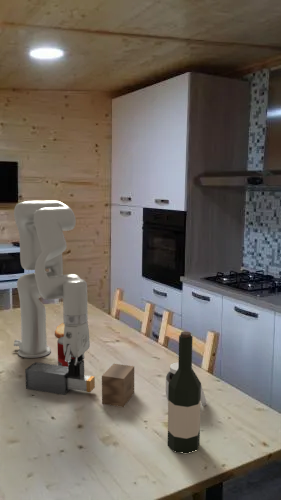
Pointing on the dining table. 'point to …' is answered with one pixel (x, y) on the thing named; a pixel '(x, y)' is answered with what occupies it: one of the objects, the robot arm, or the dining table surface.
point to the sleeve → (47, 378)
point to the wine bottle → (184, 401)
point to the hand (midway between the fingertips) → (76, 373)
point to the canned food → (61, 353)
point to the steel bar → (80, 380)
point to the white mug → (170, 375)
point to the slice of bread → (60, 331)
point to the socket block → (118, 385)
